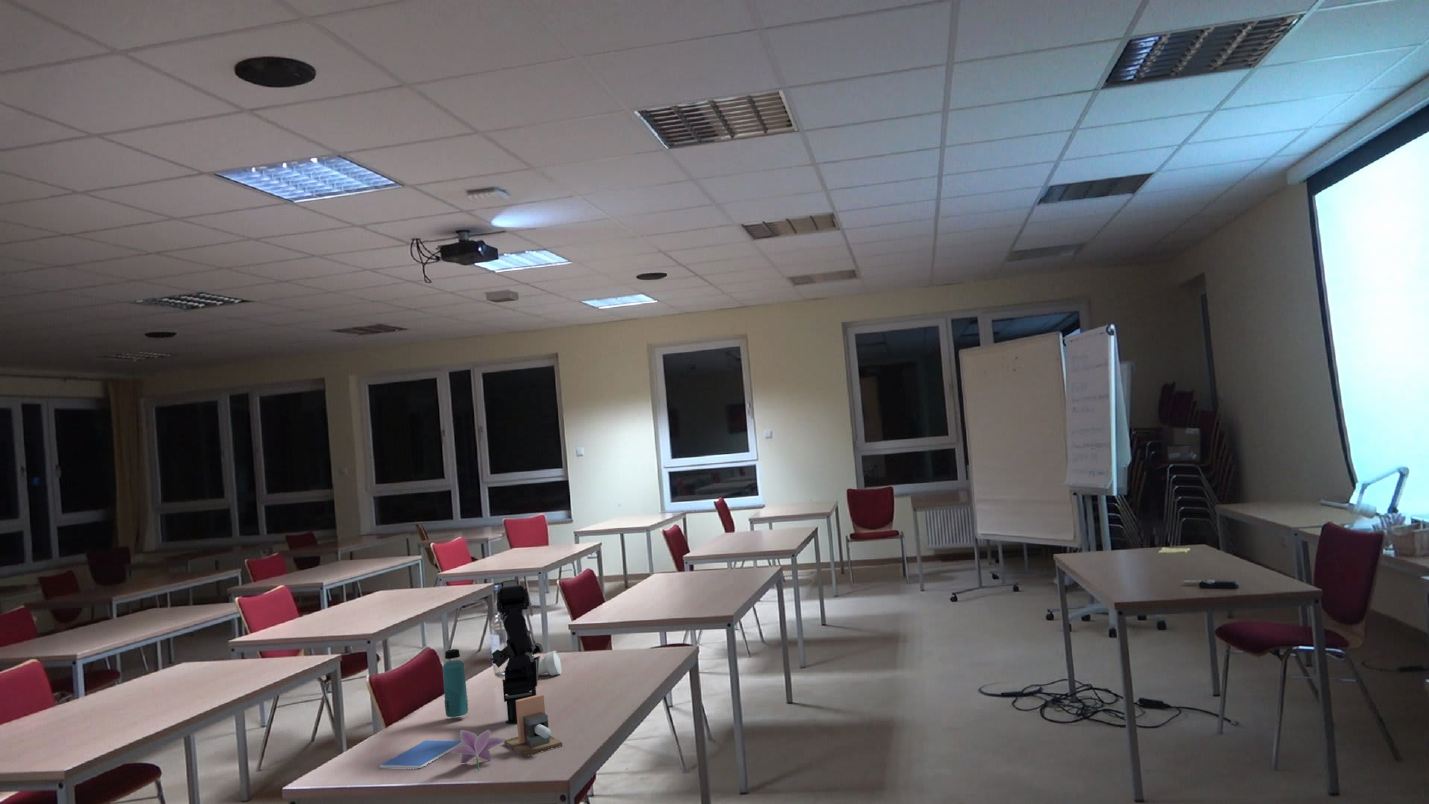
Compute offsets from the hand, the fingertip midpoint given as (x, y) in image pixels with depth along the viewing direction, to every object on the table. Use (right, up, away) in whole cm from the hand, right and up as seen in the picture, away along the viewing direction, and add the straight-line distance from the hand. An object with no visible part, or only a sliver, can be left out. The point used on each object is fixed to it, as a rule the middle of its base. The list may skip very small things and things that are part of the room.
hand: (535, 686), depth 238 cm
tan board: (+2, -10, -14) cm, 18 cm away
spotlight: (-9, -16, +60) cm, 63 cm away
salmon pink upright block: (+5, -8, -18) cm, 20 cm away
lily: (-8, -11, -27) cm, 30 cm away
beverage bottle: (-26, -15, +16) cm, 34 cm away
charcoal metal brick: (+4, -10, -17) cm, 20 cm away
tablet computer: (-26, -14, -14) cm, 33 cm away
